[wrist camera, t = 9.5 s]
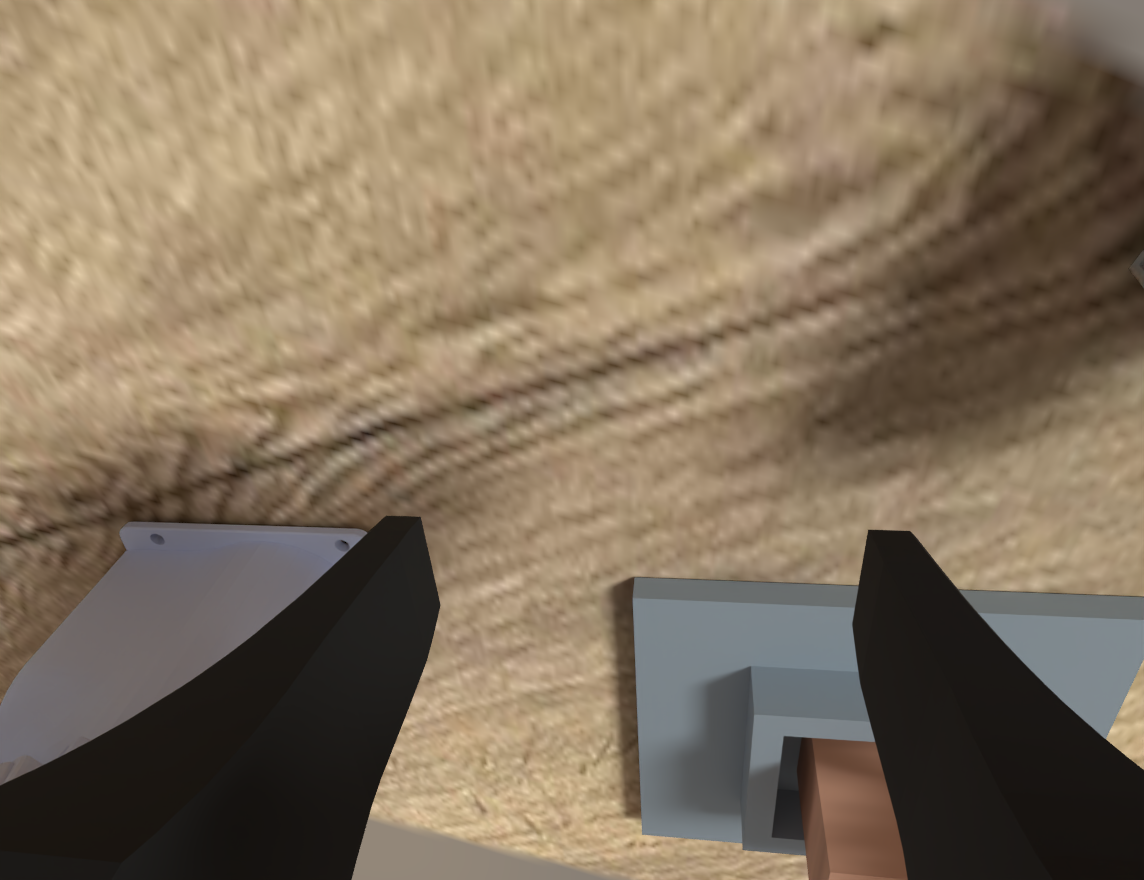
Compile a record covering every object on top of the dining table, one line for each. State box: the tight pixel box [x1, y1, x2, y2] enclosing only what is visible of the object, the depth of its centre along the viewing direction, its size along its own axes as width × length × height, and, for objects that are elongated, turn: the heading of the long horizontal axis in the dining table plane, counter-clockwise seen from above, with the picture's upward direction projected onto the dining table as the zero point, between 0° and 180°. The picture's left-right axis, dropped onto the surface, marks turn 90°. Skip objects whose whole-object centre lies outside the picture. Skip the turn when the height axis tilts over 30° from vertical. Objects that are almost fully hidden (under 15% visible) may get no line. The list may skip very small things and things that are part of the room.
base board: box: [633, 577, 1144, 856], centre depth 29 cm, size 16×14×3 cm
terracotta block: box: [797, 737, 908, 880], centre depth 26 cm, size 4×4×6 cm
